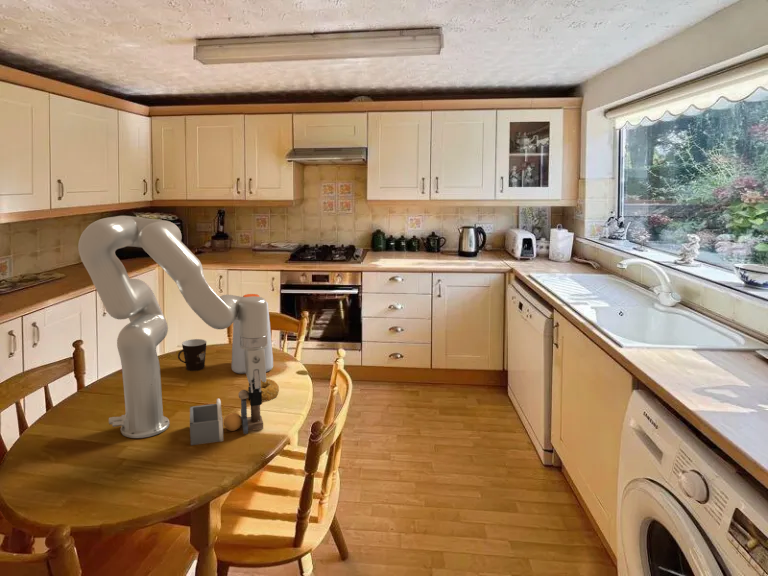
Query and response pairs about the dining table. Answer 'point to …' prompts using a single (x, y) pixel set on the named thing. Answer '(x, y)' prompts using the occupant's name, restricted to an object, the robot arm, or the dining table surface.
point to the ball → (232, 421)
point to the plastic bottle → (239, 353)
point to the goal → (206, 423)
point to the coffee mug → (194, 354)
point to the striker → (255, 419)
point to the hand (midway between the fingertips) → (255, 401)
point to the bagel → (268, 389)
